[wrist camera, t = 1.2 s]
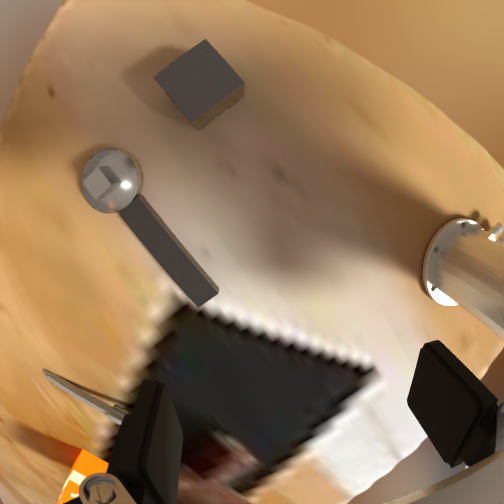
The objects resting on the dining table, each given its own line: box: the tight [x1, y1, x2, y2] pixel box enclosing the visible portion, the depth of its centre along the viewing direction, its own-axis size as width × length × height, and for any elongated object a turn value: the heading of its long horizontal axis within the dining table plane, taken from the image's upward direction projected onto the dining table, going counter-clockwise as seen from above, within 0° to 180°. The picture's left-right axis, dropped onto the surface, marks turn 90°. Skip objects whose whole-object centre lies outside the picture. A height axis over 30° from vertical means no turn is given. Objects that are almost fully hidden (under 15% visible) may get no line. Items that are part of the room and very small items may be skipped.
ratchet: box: [81, 150, 219, 308], centre depth 32 cm, size 7×21×5 cm, turn 37°
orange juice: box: [57, 450, 109, 504], centre depth 38 cm, size 8×9×20 cm
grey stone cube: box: [154, 39, 245, 130], centre depth 28 cm, size 6×6×6 cm
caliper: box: [44, 369, 129, 425], centre depth 38 cm, size 20×1×6 cm, turn 73°
